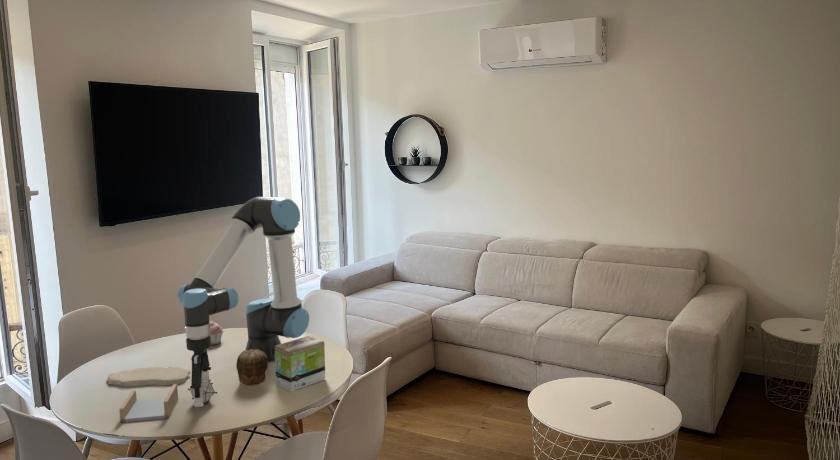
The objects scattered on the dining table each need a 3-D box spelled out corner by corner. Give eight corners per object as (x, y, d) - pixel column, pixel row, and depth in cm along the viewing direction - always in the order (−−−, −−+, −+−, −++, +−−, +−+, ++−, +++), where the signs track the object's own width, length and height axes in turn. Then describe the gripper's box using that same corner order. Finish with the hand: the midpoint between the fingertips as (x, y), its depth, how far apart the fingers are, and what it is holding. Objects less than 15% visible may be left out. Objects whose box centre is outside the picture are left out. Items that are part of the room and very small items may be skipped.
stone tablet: (183, 386, 224) (183, 379, 223) (99, 388, 223) (98, 382, 222) (198, 369, 240) (198, 363, 240) (119, 371, 239) (119, 365, 239)
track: (178, 399, 211) (176, 384, 210) (169, 417, 198) (167, 401, 197) (133, 403, 209) (131, 387, 208) (120, 422, 195) (118, 405, 194)
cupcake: (229, 341, 269) (227, 319, 267) (210, 348, 262) (208, 325, 260) (216, 337, 275) (214, 315, 273) (197, 343, 267) (195, 321, 266)
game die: (200, 411, 210) (193, 383, 214) (223, 401, 210) (216, 373, 214) (187, 409, 202) (180, 380, 206) (212, 399, 202) (204, 370, 206)
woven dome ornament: (241, 390, 217) (239, 357, 216) (234, 379, 227) (232, 348, 225) (272, 384, 222) (270, 352, 221) (264, 374, 232) (262, 343, 230)
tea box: (292, 392, 215) (290, 351, 212) (275, 385, 222) (272, 345, 219) (326, 379, 226) (324, 340, 223) (309, 372, 232) (307, 334, 230)
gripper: (193, 325, 217) (197, 384, 220) (178, 349, 192) (183, 414, 195) (215, 324, 218) (219, 382, 221) (203, 347, 194) (208, 412, 197)
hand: (202, 397), depth 208 cm, fingers open, 13 cm apart
